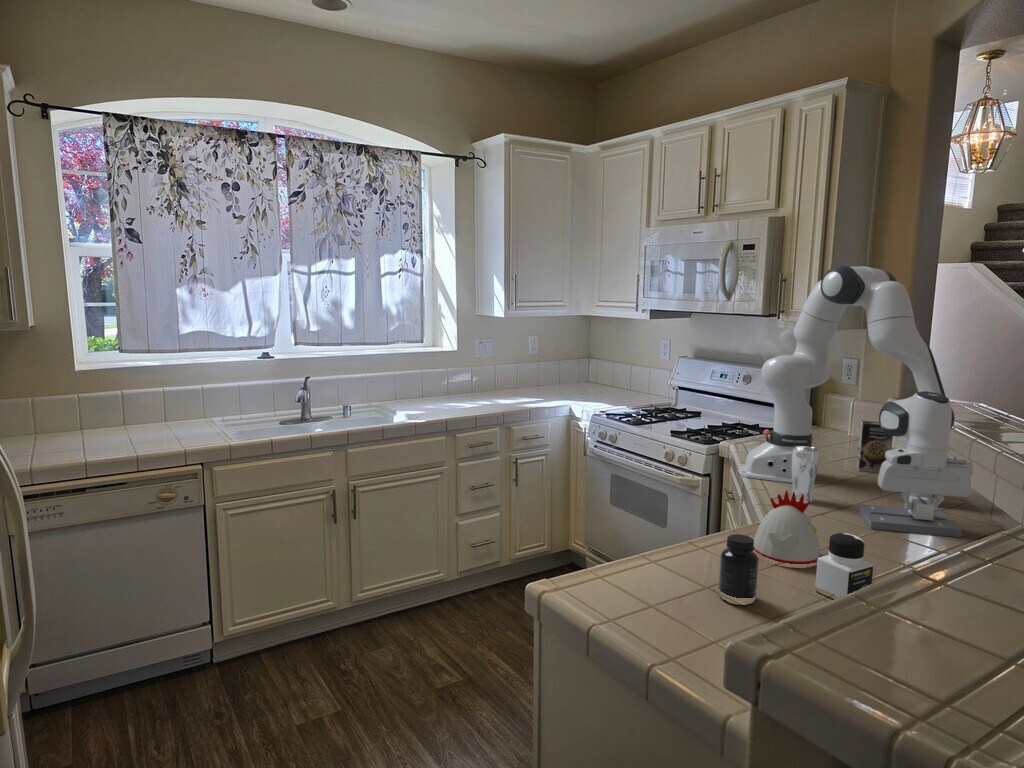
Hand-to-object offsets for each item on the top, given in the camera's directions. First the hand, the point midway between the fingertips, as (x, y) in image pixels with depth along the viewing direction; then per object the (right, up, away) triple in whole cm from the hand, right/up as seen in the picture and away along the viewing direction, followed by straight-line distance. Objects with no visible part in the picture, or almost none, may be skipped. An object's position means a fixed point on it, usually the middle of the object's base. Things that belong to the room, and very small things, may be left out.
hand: (920, 510), depth 170 cm
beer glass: (-22, -1, +19) cm, 29 cm away
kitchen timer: (-43, -7, -20) cm, 48 cm away
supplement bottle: (-61, -9, -41) cm, 74 cm away
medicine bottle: (-39, -9, -39) cm, 57 cm away
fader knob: (0, -1, 0) cm, 1 cm away
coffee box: (+16, +3, +52) cm, 54 cm away
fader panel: (-3, -4, +1) cm, 5 cm away
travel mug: (+12, -2, +19) cm, 23 cm away
